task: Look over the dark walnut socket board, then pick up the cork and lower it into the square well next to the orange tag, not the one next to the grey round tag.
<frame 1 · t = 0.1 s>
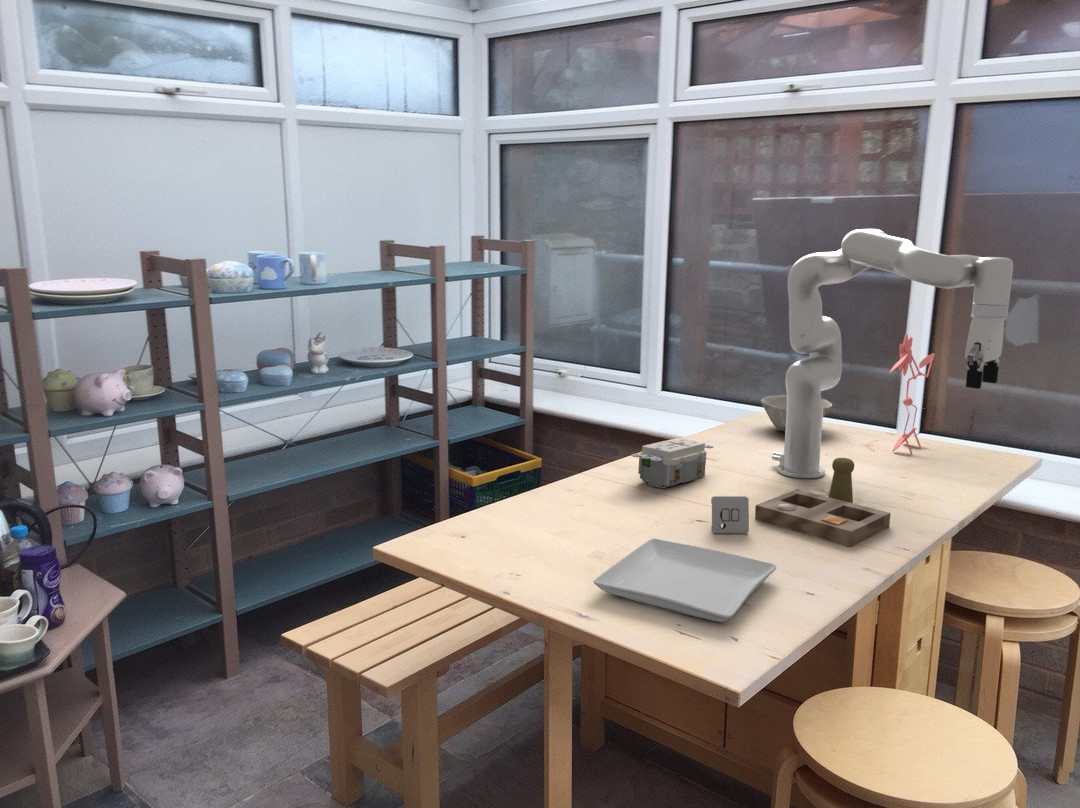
hand: (981, 385, 211), 31 cm above the table, fingers open, 9 cm apart
ceramic bowl: (794, 432, 295), on the table
figurine: (893, 447, 277), on the table
socket board: (821, 523, 210), on the table
square plate: (686, 590, 174), on the table
electrical outlet: (672, 480, 243), on the table
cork: (840, 502, 226), on the table
electrical switch: (727, 531, 205), on the table
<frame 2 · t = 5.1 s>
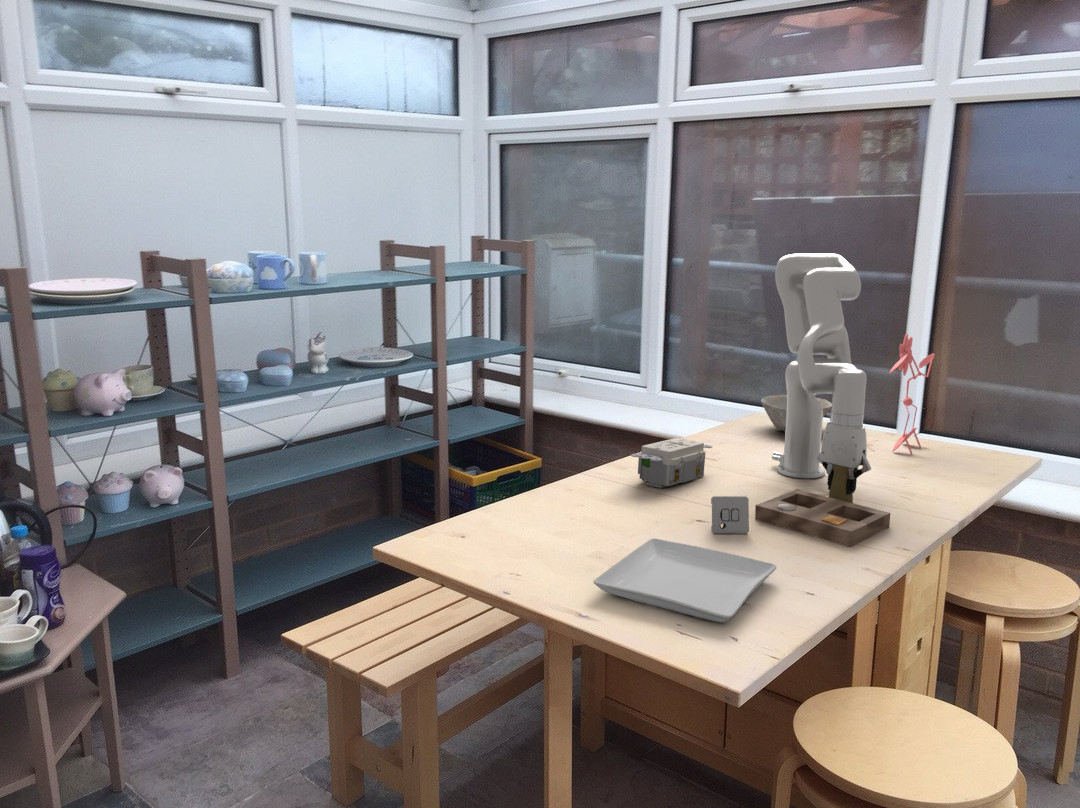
hand: (841, 490, 225), 3 cm above the table, fingers closed on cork, 4 cm apart
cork: (840, 502, 226), on the table, touching gripper
everything else where it was.
when the fingers open (4 cm above the table, at t = 11.3 s): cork drops 1 cm, resting in socket board.
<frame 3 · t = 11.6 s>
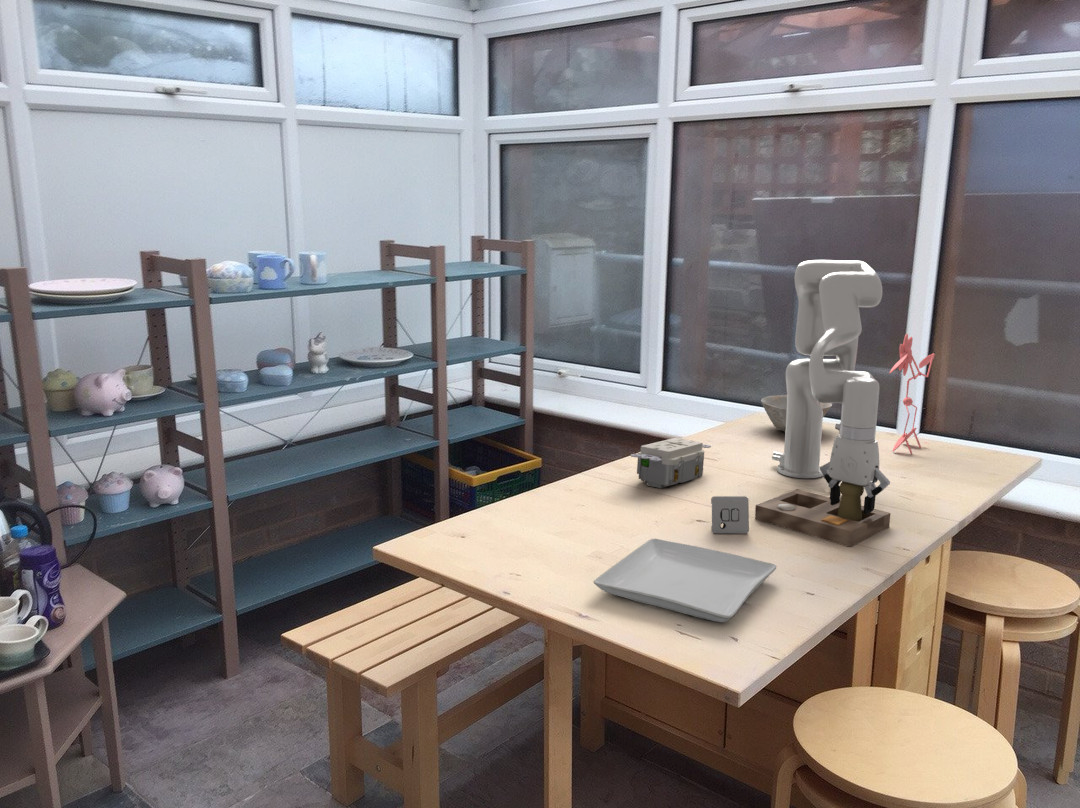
hand: (851, 507, 206), 5 cm above the table, fingers open, 7 cm apart
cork: (848, 528, 207), resting in socket board
everything else where it was.
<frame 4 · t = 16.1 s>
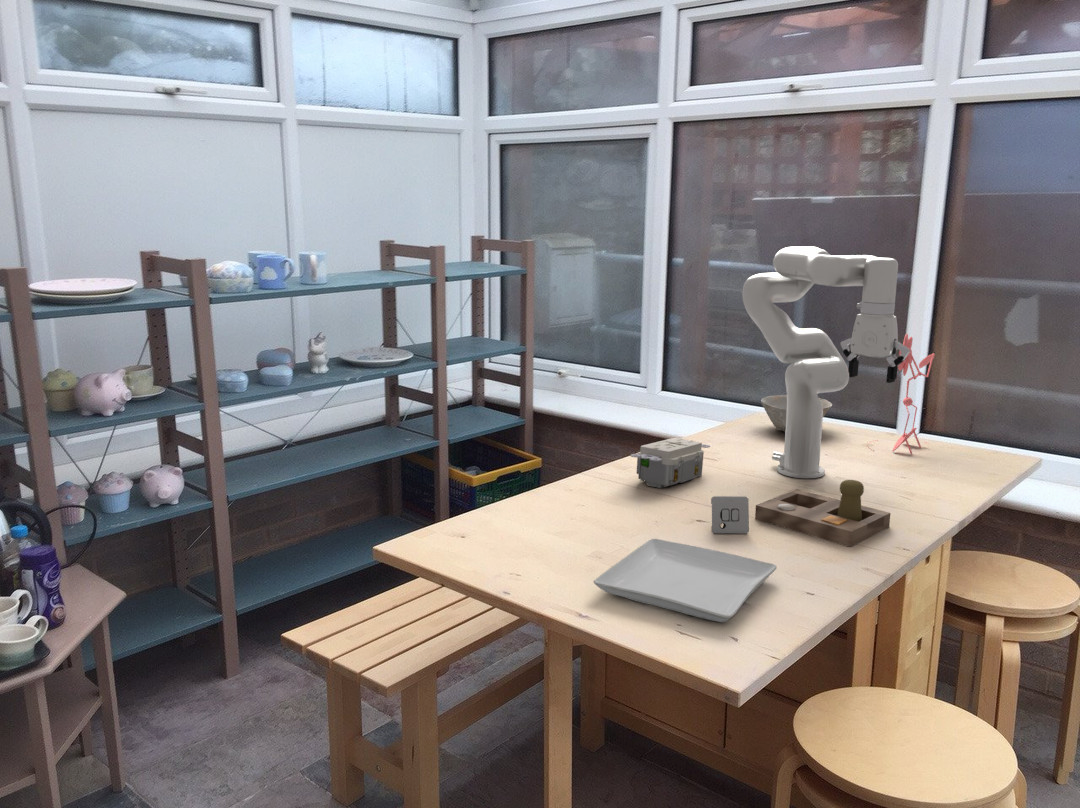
hand: (871, 379, 222), 30 cm above the table, fingers open, 9 cm apart
nothing on the table moved.
at the end: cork 0.4 cm from the target spot on the socket board, point 0.0 cm above the socket board's base; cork tilted 0°; the gripper is holding nothing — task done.
